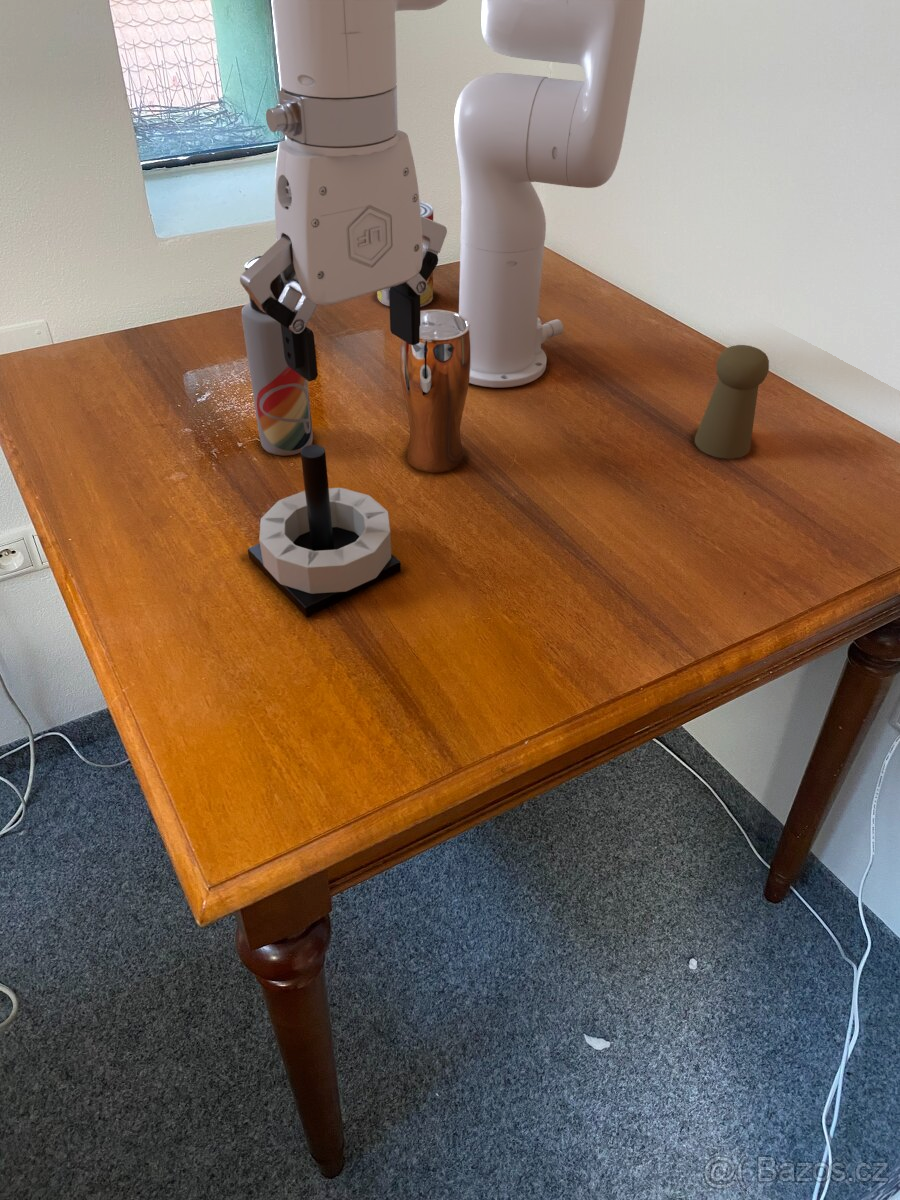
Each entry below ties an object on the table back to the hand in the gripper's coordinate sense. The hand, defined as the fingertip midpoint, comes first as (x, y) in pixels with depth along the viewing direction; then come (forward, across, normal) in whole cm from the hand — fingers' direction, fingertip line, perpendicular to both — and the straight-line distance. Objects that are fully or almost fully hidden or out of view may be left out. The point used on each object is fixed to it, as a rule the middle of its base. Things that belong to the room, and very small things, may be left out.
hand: (355, 355), depth 69 cm
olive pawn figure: (+20, +41, -9) cm, 46 cm away
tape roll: (+18, -4, 0) cm, 18 cm away
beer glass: (+20, +14, +8) cm, 25 cm away
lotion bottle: (+20, +3, +20) cm, 28 cm away
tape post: (+19, -5, 0) cm, 20 cm away
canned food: (+20, +36, +43) cm, 59 cm away
